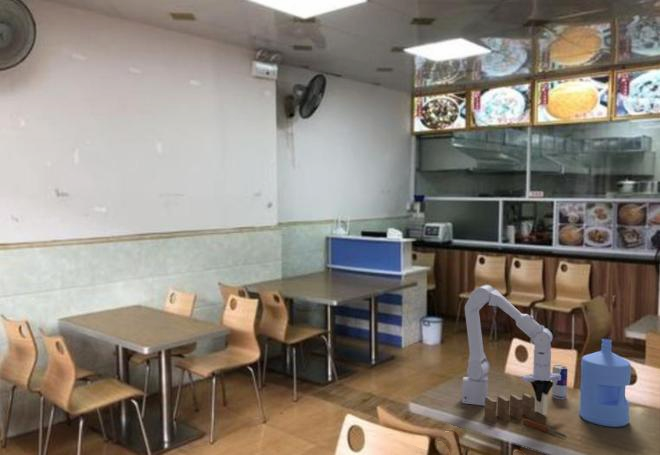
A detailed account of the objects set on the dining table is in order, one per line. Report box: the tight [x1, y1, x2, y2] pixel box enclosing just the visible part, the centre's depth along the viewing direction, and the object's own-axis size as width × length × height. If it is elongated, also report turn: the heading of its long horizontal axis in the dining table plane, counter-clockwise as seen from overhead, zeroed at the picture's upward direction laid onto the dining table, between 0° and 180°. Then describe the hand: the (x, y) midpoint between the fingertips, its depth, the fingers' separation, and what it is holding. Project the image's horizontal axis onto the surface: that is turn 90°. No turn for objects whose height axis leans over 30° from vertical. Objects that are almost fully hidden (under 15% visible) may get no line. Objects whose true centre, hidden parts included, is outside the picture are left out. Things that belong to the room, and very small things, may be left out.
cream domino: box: [534, 393, 549, 416], centre depth 197 cm, size 2×5×7 cm, turn 14°
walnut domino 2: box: [496, 395, 510, 422], centre depth 193 cm, size 2×5×7 cm, turn 14°
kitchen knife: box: [522, 418, 567, 438], centre depth 182 cm, size 16×1×2 cm, turn 37°
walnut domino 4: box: [521, 393, 536, 419], centre depth 195 cm, size 2×5×7 cm, turn 14°
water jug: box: [578, 338, 632, 428], centre depth 193 cm, size 16×16×28 cm
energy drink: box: [551, 364, 568, 400], centre depth 214 cm, size 5×5×12 cm
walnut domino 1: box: [484, 396, 498, 423], centre depth 192 cm, size 2×5×7 cm, turn 14°
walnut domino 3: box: [509, 394, 523, 420], centre depth 194 cm, size 2×5×7 cm, turn 14°
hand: (540, 400), depth 197 cm, fingers closed on cream domino, 1 cm apart
